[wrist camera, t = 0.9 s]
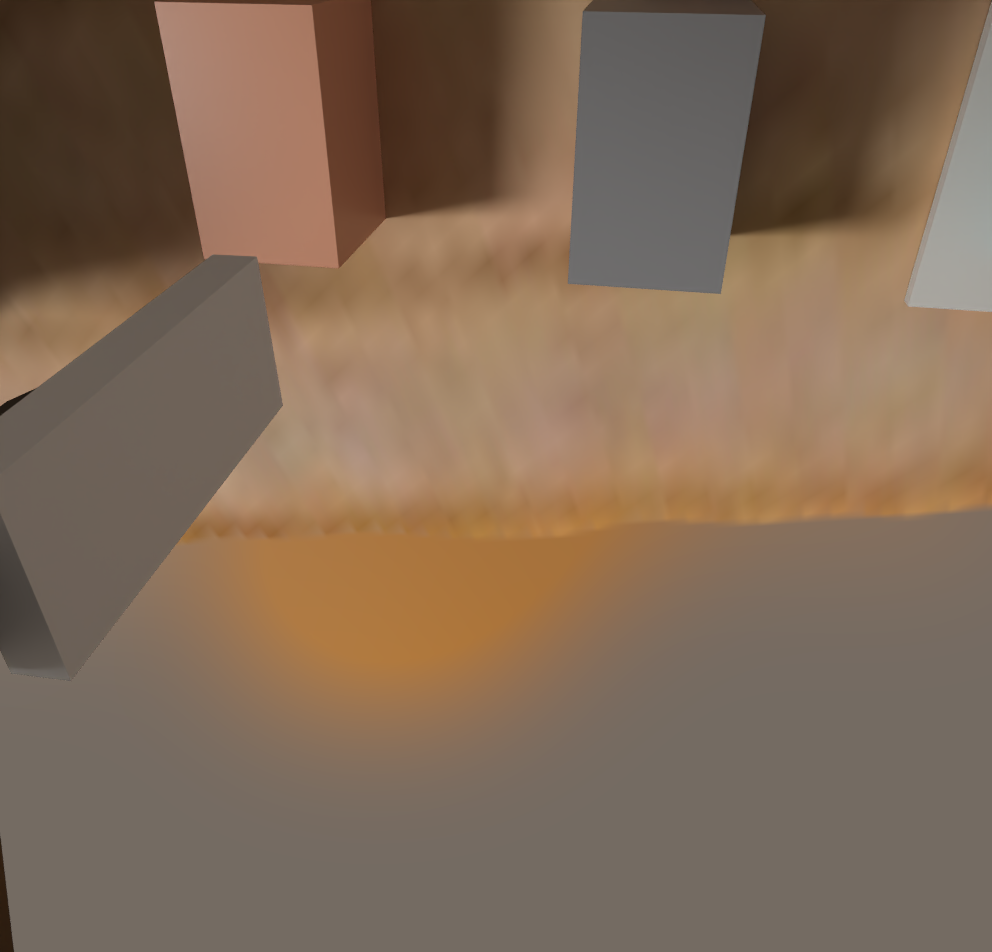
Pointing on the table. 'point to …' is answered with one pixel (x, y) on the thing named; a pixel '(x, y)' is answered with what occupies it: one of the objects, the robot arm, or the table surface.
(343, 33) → the terracotta brick
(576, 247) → the charcoal brick
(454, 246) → the table surface
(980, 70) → the baseplate
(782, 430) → the table surface
